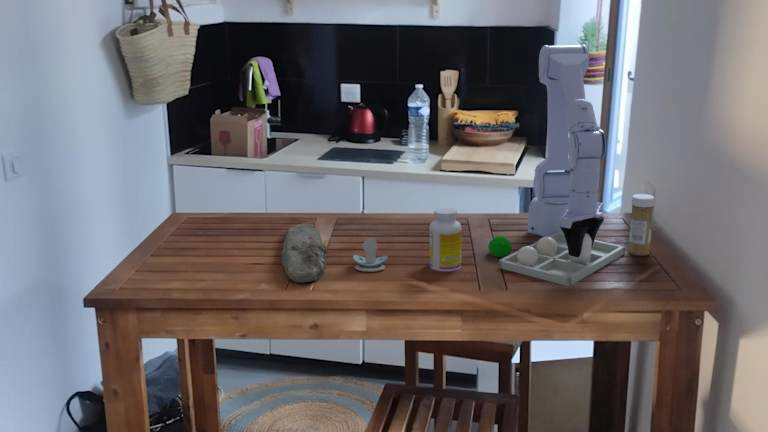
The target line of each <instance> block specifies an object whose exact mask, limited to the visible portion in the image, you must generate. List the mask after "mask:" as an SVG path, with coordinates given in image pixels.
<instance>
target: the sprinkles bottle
mask: <svg viewBox="0 0 768 432" xmlns="http://www.w3.org/2000/svg"><path fill="white" fill-rule="evenodd" d="M654 206H655V197H654V195H651V194H648V193H636V194H633V195H632V196H631V216H630V225H629V226H630V227H629V240H628V241H629V242H628V243H629V244H628V253H629V254H631V255H633V256H648V255H649V254H650V250H651V249H650V248H651V247H650V246H651V241H652V223H653V210H654V209H653V208H654Z"/></svg>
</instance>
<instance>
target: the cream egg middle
mask: <svg viewBox="0 0 768 432" xmlns="http://www.w3.org/2000/svg"><path fill="white" fill-rule="evenodd" d="M537 242H538V243H537V251H538V253H539V254H541V255H545V256H550V257H551V256H553V255H554V254H555V253H556V251H557V243H556V241H555V240H554V239H553V238H551V237H543V236H542V237H541V238H539V240H537Z"/></svg>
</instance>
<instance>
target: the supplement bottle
mask: <svg viewBox="0 0 768 432" xmlns="http://www.w3.org/2000/svg"><path fill="white" fill-rule="evenodd" d="M433 217H434V221H431V223H430V224H429V268H431V269H432V270H434V271H437V272H455V271H457V270H459V269H461V268H462V225H461V223H460V222H459V221H457V217H458V211H457V209H456V208H452V207H439V208H435V209H434V211H433Z"/></svg>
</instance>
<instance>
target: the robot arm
mask: <svg viewBox="0 0 768 432" xmlns="http://www.w3.org/2000/svg"><path fill="white" fill-rule="evenodd" d="M589 66H590V52H589V48H588V47H587V45H586V44H584V43H583V44H573V45H570V44H569V45H567V44H566V45H548V44H545V45H543V46H542V47H541V49H540V50H539V57H538V78H539V82H540V83H541V84H543V85H545V86H546V92H547V133H546V134H547V148H546V150H547V151H546V152H547V153H546V154H547V156H546V158H544V159H543V160H542V161H541V162H539V163H538V164H537V165H536V166H535V169H534V177H533V192H534V196H535V197H533V198H532V200H531V201H530V203H529V206H528V214H527V215H528V217H527V218H528V220H527V233H529V234H533V235H538V236H541V237H542V238H543V237H548V236H550V235H552V234H554V233H556V232H560V233H564V236H565V239H566V242H567V247H568V252H569V255H570V256H574V257H579V256H580V254H581V250H582V243H583V239H584V236H585V234H586V233H587V234H589V236H590V237H591V240H592V246H593V243H594V240H596V237H597V235H598V231H599V229H600V227H601V225H602V224H603V222H604V221H605V218H604V216H603V212H604V203H603V202H598V201H599V191H600V190H599V186H600V175H601V173H600V172H601V160H603V159H604V157H605V155H606V152H607V139H606V134H605V132H604V130H603V129H601V126H598V123H597V118H596V114H595V111H594V105H593V103H591V102H590V101H589V100H586V92H585V83H584V77H585V76H586V73H587V71H588V69H589ZM591 249H592V247H591Z"/></svg>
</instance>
